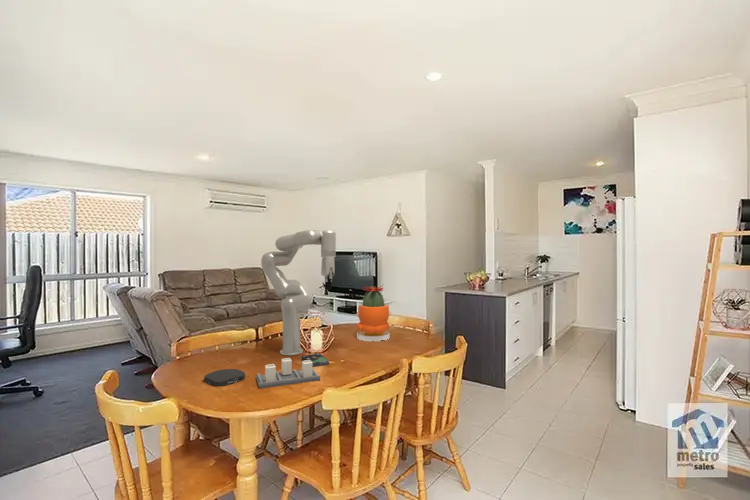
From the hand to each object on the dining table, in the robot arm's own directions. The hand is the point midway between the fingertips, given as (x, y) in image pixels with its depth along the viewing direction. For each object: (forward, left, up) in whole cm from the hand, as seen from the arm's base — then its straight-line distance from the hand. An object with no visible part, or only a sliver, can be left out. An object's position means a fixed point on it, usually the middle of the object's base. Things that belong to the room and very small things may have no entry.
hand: (328, 289), depth 195 cm
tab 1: (+23, -32, -36) cm, 53 cm away
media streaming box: (+10, -50, -38) cm, 63 cm away
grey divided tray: (+20, -24, -37) cm, 49 cm away
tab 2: (+17, -24, -36) cm, 46 cm away
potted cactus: (-34, +40, -37) cm, 64 cm away
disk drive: (0, -7, -38) cm, 38 cm away
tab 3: (+23, -16, -36) cm, 45 cm away
